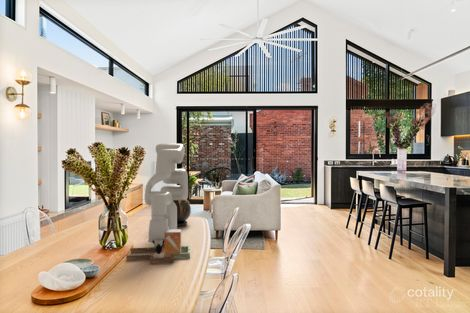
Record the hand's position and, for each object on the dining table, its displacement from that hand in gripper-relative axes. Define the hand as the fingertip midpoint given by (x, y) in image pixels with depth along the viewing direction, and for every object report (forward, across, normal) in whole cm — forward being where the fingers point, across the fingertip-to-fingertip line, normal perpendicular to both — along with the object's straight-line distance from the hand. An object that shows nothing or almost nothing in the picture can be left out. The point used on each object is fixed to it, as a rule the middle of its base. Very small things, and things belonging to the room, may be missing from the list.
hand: (158, 252), depth 173 cm
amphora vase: (+1, -5, -70) cm, 71 cm away
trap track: (+1, 0, 0) cm, 1 cm away
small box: (+2, -7, +1) cm, 7 cm away
